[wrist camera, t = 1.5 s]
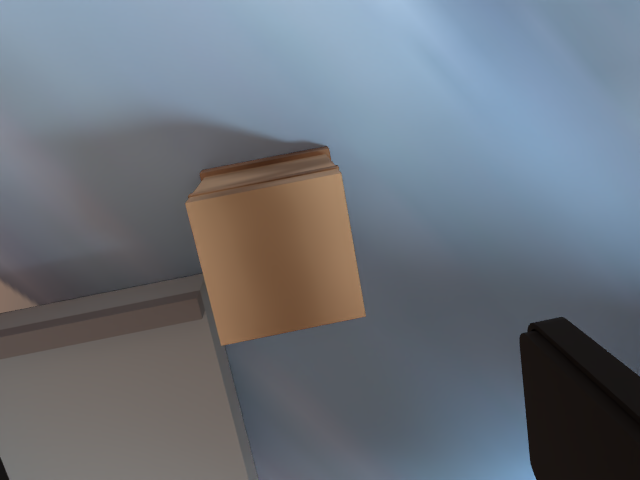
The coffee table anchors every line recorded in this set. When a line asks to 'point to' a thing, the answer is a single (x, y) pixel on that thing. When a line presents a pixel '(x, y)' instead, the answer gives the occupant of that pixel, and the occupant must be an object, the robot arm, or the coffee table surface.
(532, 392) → the robot arm
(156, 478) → the dock
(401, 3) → the coffee table surface
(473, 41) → the coffee table surface
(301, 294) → the pedestal
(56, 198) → the coffee table surface
